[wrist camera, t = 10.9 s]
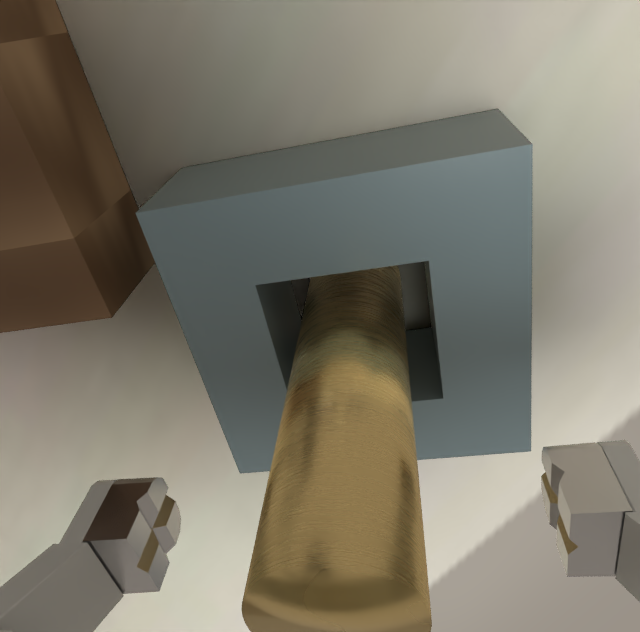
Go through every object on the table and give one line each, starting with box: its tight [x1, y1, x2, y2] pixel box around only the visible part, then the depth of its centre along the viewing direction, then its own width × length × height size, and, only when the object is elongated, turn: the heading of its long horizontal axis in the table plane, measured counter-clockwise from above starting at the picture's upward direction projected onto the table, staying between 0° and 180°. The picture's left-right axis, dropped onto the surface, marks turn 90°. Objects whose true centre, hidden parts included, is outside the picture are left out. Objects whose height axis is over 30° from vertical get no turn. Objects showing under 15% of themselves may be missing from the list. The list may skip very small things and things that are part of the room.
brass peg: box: [242, 265, 432, 632], centre depth 14 cm, size 3×3×12 cm
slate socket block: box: [136, 109, 532, 473], centre depth 17 cm, size 10×10×4 cm
